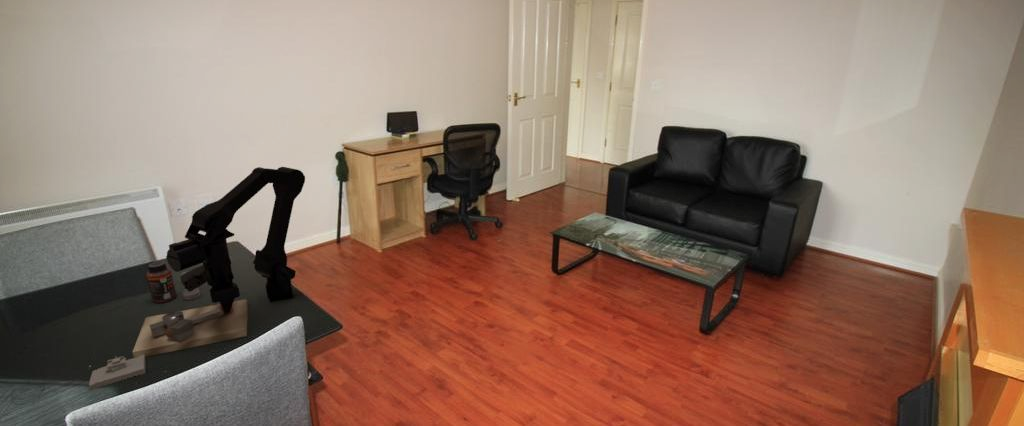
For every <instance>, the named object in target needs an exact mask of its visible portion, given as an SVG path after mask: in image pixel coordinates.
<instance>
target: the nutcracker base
mask: <svg viewBox="0 0 1024 426" xmlns="http://www.w3.org/2000/svg"><path fill="white" fill-rule="evenodd" d="M232 305H233V312H232V313H230V314H226V315H221V316H218V317H215V318H211V319H208V320H205V321H202V322H199V323H196V324H192V320H187V319H186V318H189V317H193V316H196V315H199V314H202V313H206V312H209V311H212V310H215V309H219V308H220V306H219V303H217V304H211V305H207V306H201V307H197V308H196V307H195V308H190V309H185V310H180V311H181V312H183V315H184V319H183V320H181V321H180V322H178V323H176V324H175V325H173V326H171V327H169V328H168V329H167V330H166V333H165V334H162V335H159V336H156V337H153V336H152V333H151V330H150V326H149V325H151V324H154V323H158V322H161V321H163V319H162V318H163V316H164V315H166V314H168V313H169V312H168V313H164V314H163V313H161V314H157V315H156V314H155V315H151V316H145V319H144V321H143V324H142V326H141V329H140V331H139V334H138V337H137V339H136V342H135V345H134V347H133V350H132V355H133V358H136V357H139V356H141V355H144V354H145V358H146V357H151V356H157V355H162V354H167V353H171V352H175V351H179V350H180V351H181V350H186V349H191V348H195V347H201V346H204V345H210V344H213V343H220V342H224V341H228V340H233V339H238V338H242V337H247V336H248V335H247V334H248V311H249V310H248V309H249V305H248V299H240V300H234V301H233V304H232Z"/></svg>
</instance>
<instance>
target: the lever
mask: <svg viewBox="0 0 1024 426" xmlns="http://www.w3.org/2000/svg"><path fill="white" fill-rule="evenodd" d="M218 304H219V306H220V308H219V309H215V310H212V311H209V312H206V313H202V314H199V315H196V316H193V317H189V318H186V319H187V320H192V324H196V323H199V322H202V321H205V320H208V319H211V318H215V317H218V316H221V315H226V314H230V313H232V312H233V305H232V307H231V310H230V312H229V313H225V312H224V310H223V308H222V306H221V304H220V302H218ZM181 311H182V310H178V311H177V310H176V311H175V310H174V311H171V312H168V314H167V313H165V314H166V315H164V316H163V318H162V319H163V321H161V322H158V323H154V324H151V325H149V326H150V330H151V333H152V336H153V337H156V336H159V335H162V334H165V333H166V330H167V329H168V328H169V327H171V326H173V325H175V324H176V323H178V322H180V321H181V320H183V319H184V315H183V312H181Z"/></svg>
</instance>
